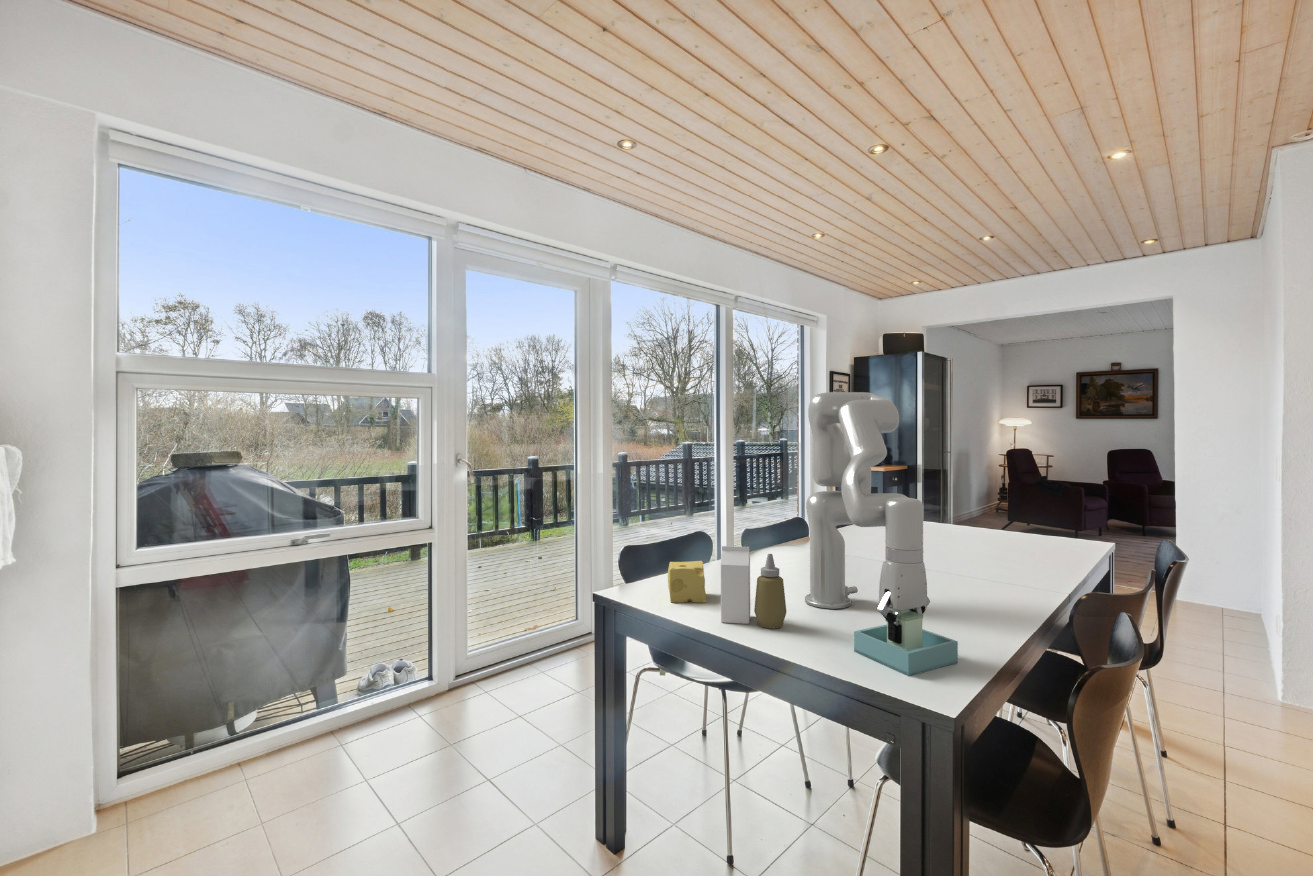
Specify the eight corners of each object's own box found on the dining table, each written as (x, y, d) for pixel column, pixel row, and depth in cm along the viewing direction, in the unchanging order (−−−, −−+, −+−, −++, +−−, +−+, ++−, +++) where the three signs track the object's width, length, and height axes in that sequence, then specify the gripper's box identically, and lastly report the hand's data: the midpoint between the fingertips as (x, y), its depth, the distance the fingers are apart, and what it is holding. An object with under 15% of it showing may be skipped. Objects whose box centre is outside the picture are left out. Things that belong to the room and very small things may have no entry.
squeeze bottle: (752, 620, 153) (751, 550, 152) (783, 620, 152) (783, 550, 152) (756, 630, 144) (756, 557, 144) (789, 630, 144) (789, 557, 144)
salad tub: (903, 639, 131) (903, 608, 131) (923, 647, 126) (923, 615, 126) (886, 643, 128) (886, 611, 128) (905, 651, 124) (905, 618, 124)
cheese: (706, 603, 168) (705, 568, 168) (668, 603, 168) (667, 568, 168) (703, 593, 178) (703, 560, 178) (667, 593, 178) (667, 560, 178)
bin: (901, 640, 137) (901, 621, 137) (957, 662, 124) (957, 641, 124) (854, 651, 131) (854, 631, 130) (908, 676, 117) (908, 653, 117)
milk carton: (749, 624, 149) (748, 549, 149) (721, 623, 151) (720, 548, 150) (750, 615, 156) (749, 544, 156) (723, 614, 158) (722, 543, 157)
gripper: (917, 548, 134) (917, 628, 134) (861, 556, 127) (861, 640, 127) (946, 554, 127) (946, 638, 128) (889, 563, 120) (889, 652, 120)
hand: (904, 638), depth 127 cm, fingers closed on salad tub, 5 cm apart
